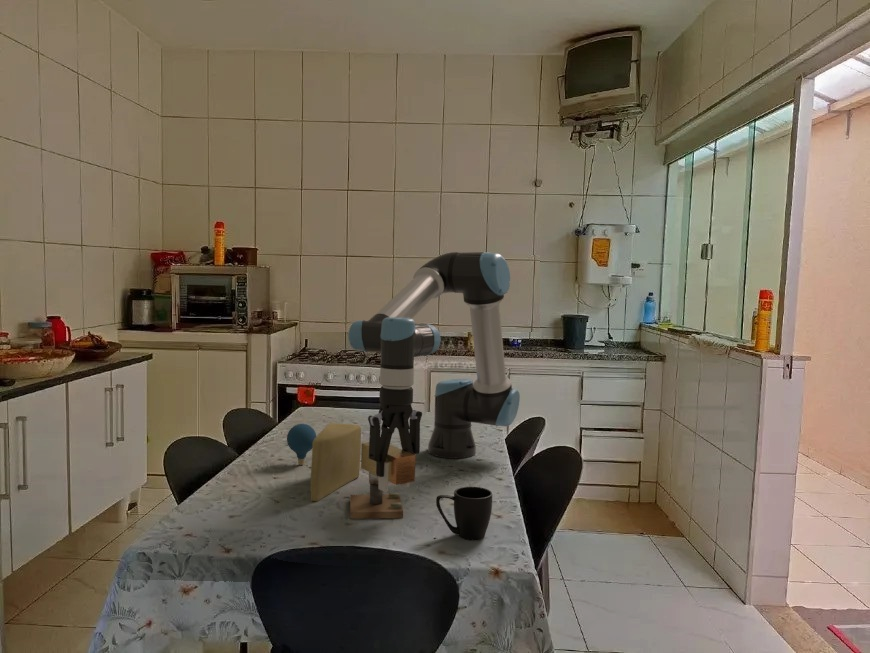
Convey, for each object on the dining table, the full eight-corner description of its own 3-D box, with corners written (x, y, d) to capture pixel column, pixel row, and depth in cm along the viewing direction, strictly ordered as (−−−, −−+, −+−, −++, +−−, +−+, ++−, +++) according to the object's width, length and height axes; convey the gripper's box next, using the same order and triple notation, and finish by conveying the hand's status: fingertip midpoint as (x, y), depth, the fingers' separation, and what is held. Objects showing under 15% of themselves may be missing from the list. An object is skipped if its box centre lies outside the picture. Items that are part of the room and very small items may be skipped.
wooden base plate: (399, 500, 162) (399, 476, 162) (403, 517, 150) (403, 492, 150) (350, 500, 161) (350, 476, 160) (350, 518, 149) (350, 492, 148)
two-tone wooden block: (360, 480, 156) (361, 443, 155) (378, 477, 159) (379, 440, 158) (395, 498, 144) (396, 458, 143) (414, 494, 147) (415, 455, 146)
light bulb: (309, 470, 184) (310, 428, 184) (281, 467, 186) (282, 426, 185) (320, 462, 193) (321, 422, 192) (293, 459, 194) (294, 419, 193)
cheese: (332, 504, 158) (333, 443, 157) (294, 500, 160) (295, 439, 159) (361, 477, 180) (362, 423, 179) (327, 474, 182) (328, 420, 180)
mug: (433, 528, 145) (435, 486, 144) (487, 528, 145) (489, 486, 145) (436, 543, 136) (437, 498, 136) (493, 543, 137) (495, 498, 137)
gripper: (418, 381, 156) (415, 477, 158) (353, 387, 144) (350, 490, 146) (438, 385, 150) (435, 485, 152) (372, 392, 139) (369, 499, 140)
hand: (393, 487), depth 149 cm, fingers closed on two-tone wooden block, 5 cm apart
